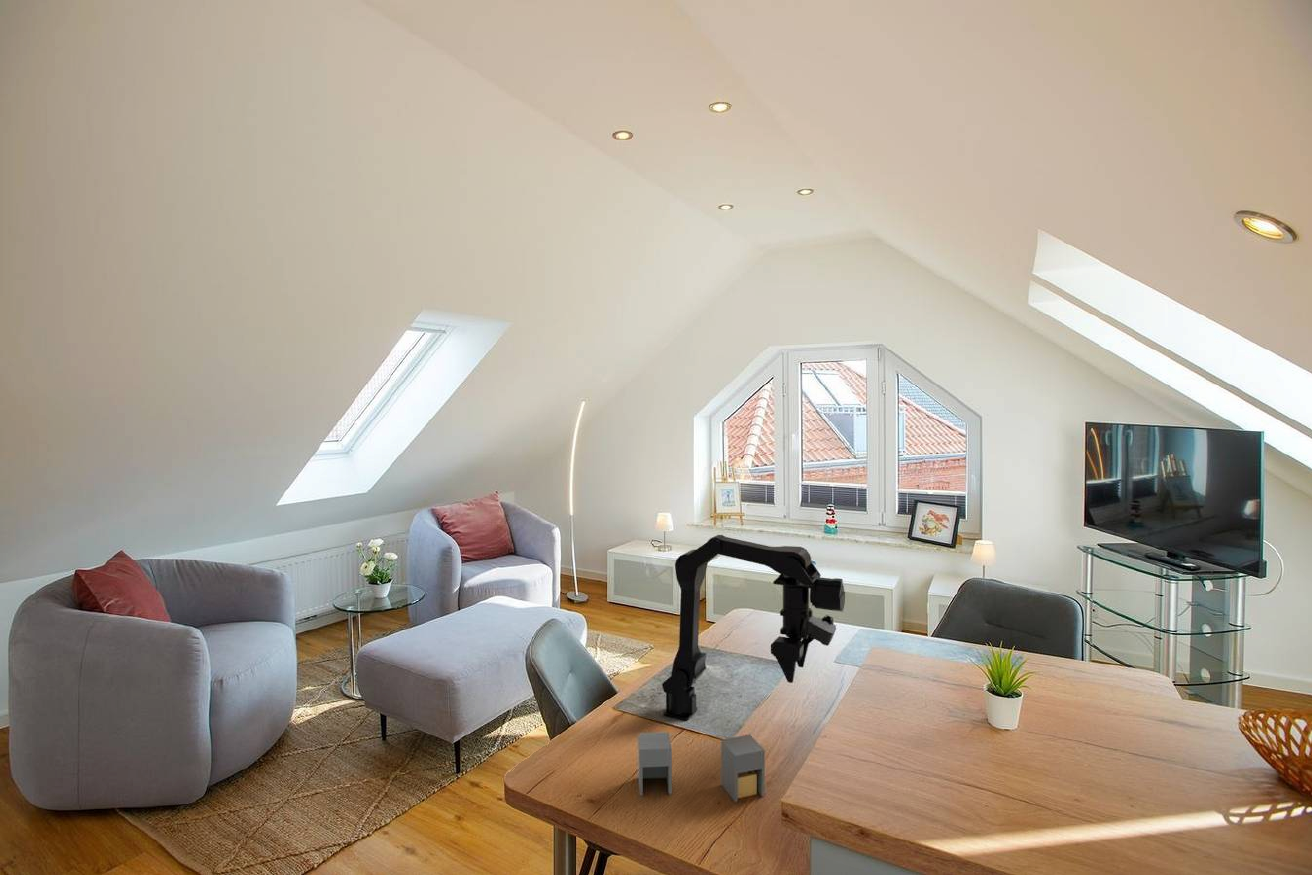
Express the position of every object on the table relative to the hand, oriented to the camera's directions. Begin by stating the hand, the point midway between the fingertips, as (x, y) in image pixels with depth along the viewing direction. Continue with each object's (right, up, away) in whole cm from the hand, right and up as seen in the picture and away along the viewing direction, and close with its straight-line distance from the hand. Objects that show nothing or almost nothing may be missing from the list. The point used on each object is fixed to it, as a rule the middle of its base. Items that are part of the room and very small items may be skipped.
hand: (795, 674), depth 144 cm
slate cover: (-31, -16, -17) cm, 39 cm away
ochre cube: (-14, -16, -19) cm, 28 cm away
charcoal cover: (-14, -16, -19) cm, 28 cm away
